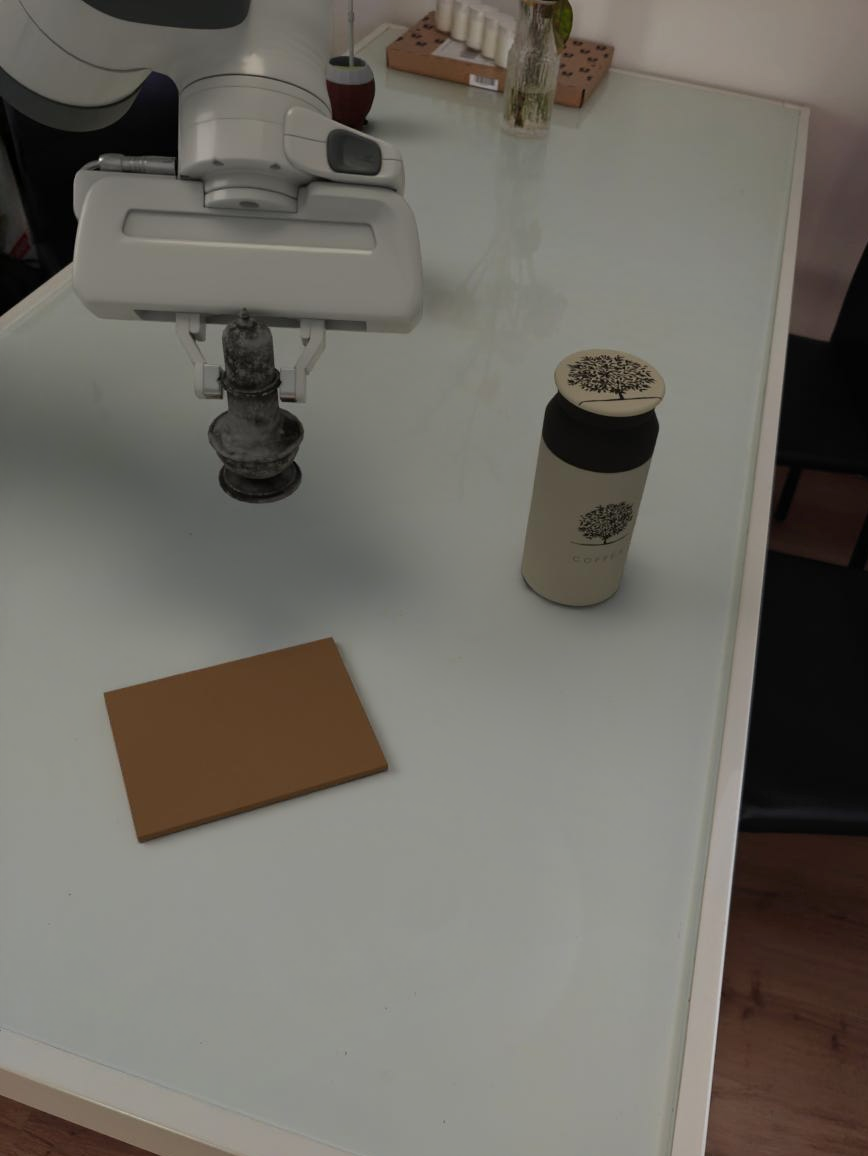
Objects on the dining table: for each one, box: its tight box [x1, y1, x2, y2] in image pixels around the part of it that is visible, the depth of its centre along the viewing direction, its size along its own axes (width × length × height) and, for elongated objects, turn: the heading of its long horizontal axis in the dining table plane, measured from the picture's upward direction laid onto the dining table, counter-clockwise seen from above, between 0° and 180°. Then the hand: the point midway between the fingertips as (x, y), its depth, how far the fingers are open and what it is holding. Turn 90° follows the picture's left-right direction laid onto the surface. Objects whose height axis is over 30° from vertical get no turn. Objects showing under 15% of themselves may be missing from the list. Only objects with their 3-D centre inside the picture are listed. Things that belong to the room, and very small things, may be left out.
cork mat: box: [103, 636, 389, 843], centre depth 68 cm, size 16×12×1 cm
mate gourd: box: [326, 0, 376, 134], centre depth 131 cm, size 8×8×15 cm
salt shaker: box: [207, 308, 305, 505], centre depth 62 cm, size 6×6×12 cm
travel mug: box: [520, 348, 666, 607], centre depth 75 cm, size 8×8×18 cm
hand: (251, 399), depth 61 cm, fingers closed on salt shaker, 3 cm apart
